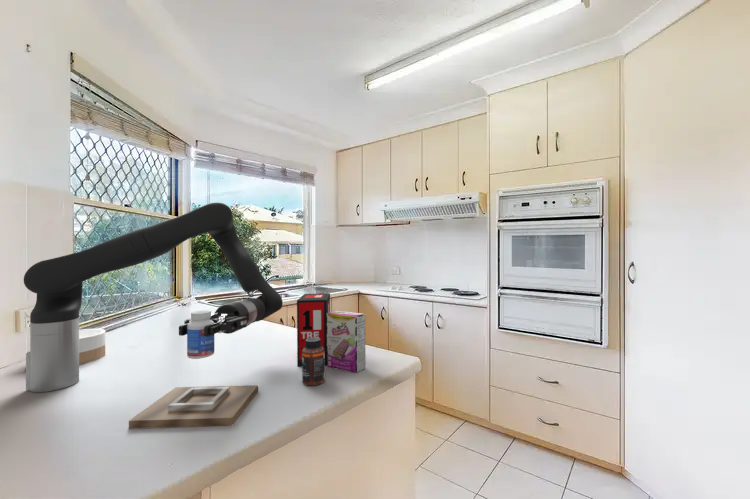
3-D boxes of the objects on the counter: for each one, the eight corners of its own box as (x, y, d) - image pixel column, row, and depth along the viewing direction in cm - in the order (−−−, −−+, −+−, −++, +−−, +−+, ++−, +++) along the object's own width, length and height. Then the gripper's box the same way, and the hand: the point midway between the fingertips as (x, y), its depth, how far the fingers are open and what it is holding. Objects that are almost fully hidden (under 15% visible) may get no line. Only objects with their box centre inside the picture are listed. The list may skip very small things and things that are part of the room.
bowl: (96, 349, 119) (97, 326, 119) (112, 357, 109) (112, 332, 109) (28, 362, 105) (29, 336, 105) (39, 373, 95) (39, 344, 95)
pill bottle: (203, 360, 69) (202, 314, 69) (181, 358, 70) (180, 314, 70) (220, 352, 75) (219, 309, 75) (199, 351, 76) (199, 309, 76)
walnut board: (128, 428, 64) (128, 414, 64) (175, 393, 80) (175, 382, 80) (232, 425, 64) (232, 411, 65) (258, 391, 80) (257, 380, 81)
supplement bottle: (329, 379, 87) (329, 337, 88) (316, 388, 82) (316, 343, 82) (311, 376, 90) (310, 335, 90) (297, 384, 85) (297, 340, 85)
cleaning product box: (327, 365, 98) (326, 299, 99) (297, 366, 98) (296, 300, 98) (330, 349, 115) (329, 293, 115) (305, 350, 114) (304, 293, 115)
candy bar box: (325, 367, 97) (325, 312, 97) (336, 362, 101) (335, 310, 101) (356, 374, 91) (356, 315, 91) (366, 368, 95) (365, 313, 96)
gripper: (211, 301, 88) (162, 313, 71) (261, 301, 86) (223, 314, 69) (212, 329, 88) (163, 347, 71) (262, 330, 86) (223, 349, 69)
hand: (193, 331), depth 70 cm, fingers closed on pill bottle, 5 cm apart
